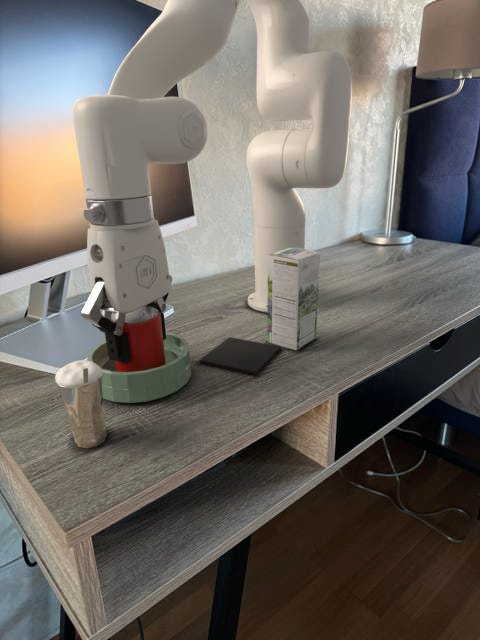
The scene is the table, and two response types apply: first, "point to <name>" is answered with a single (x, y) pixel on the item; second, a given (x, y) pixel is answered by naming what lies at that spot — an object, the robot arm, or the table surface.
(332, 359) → the table surface
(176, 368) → the dish
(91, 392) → the milkshake
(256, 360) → the coaster
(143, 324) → the can
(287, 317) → the syrup box
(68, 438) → the table surface
